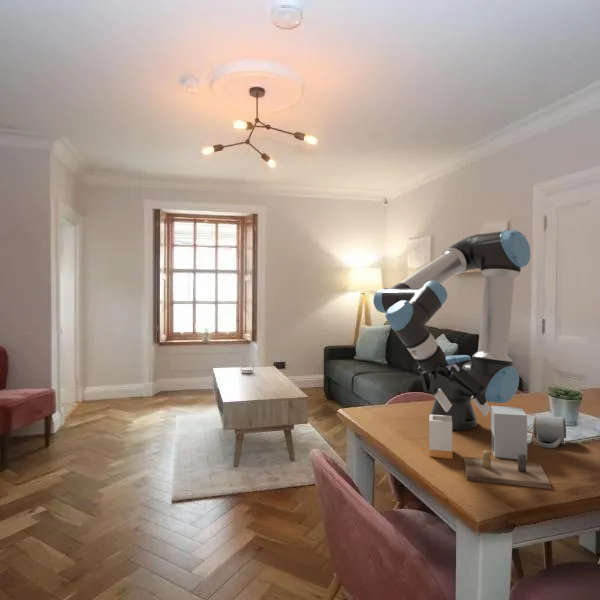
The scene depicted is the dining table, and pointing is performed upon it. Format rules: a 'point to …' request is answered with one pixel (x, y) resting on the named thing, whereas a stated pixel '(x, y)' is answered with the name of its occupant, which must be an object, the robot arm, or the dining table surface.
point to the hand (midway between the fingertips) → (467, 410)
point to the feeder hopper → (508, 431)
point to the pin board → (506, 471)
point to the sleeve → (440, 436)
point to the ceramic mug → (549, 430)
